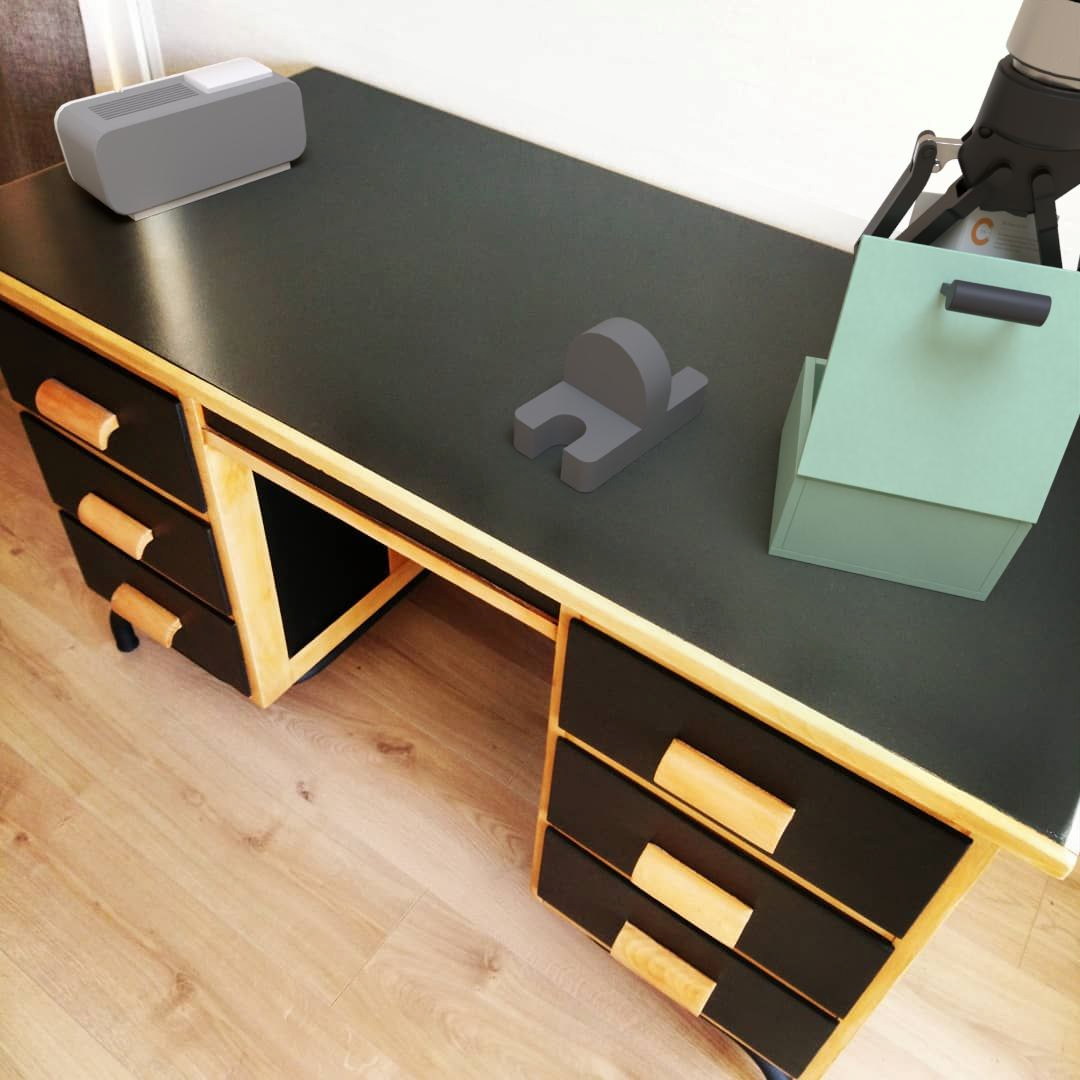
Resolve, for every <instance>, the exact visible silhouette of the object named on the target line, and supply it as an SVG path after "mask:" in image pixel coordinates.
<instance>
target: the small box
mask: <svg viewBox="0 0 1080 1080" xmlns="http://www.w3.org/2000/svg"><path fill="white" fill-rule="evenodd" d="M944 194H945V193H940V192H930V191H922V192H921V194H920V195H919V196H918V198H917V199H916V201H915V202H914V204H913V205H914V206H913V208H912V212H911V215H910V219H909V222H908V225H907V227H909V226H910V225H911V224H912V223H913V222H914V221H915V220H916V219H917V218H918V217H920V216H921V215H922V214H923V213H924V212H925V211H926V210H927V209H928V208H930V207H931V206H932V205H933V204H934V203H935V202H936V201H937V200H938V199H940V198H941V197H942V196H943V195H944ZM1057 220H1058V221H1059V220H1060V215H1058V214H1057ZM929 246H933V247H939V248H945V249H951V250H956V251H962V252H968V253H974V254H980V255H985V256H991V257H997V258H1003V259H1009V260H1014V261H1020V262H1026V263H1032V264H1038V265H1041V263H1040V256H1039V248H1038V241H1037V234H1036V226H1035V219H1034V214H1029V215H1027V217H1026V218H1024V217H1018V216H1014V215H1012V214H1010V213H1007V212H1005V211H997V212H989V211H983V210H980V208H979V206H978V207H977V208H976V209H975V210H974V211H973V212H972V213H970V214H969V215H968V216H967V217H966V218H964V219H960V220H958V221H957V222H956V223H954V224H953V225H952V226H951V227H950V228H949V229H948V230H946V231H945V232H944V233H943V234H942V235H941V236H940V237H938V238H937V239H936V240H935V241H934V242H933V243H931V244H930V245H929Z"/></svg>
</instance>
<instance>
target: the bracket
mask: <svg viewBox="0 0 1080 1080" xmlns="http://www.w3.org/2000/svg"><path fill="white" fill-rule="evenodd" d="M563 369H564V370H563V379H562V381H560V382H558V383H557V384H556V385H554V386H552V387H550V388H549V389H547V390H545V391H543V392H542V393H541V394H538V395H537V396H536V397H534V398H532V399H530V400H529V401H528V402H525V403H524V404H522V405H520V406H519V407H517V408H516V410H515V411H514V421H513V422H514V423H513V424H514V425H513V443H512V446H513V447H514V448H515V450H516V451H518V452H519V453H521V454H522V455H524V456H525V457H526V458H528V459H530V460H534V459H535V458H536V457H537V456H540V455H541V454H543V453H544V452H546V451H547V450H548V449H550V448H552V447H554V446H562V445H563V446H566V447H564V448H563V449H562V459H561V469H560V478H559V480H560V481H561V482H563V483H565V484H566V485H567V486H569V487H571V488H572V489H574V490H575V491H577V492H578V493H579V492H580V493H591V492H593V491H595V490H596V489H598V488H599V487H600V486H602V485H603V484H604V483H606V482H607V481H609V480H610V479H612V478H613V477H614V476H616V475H617V474H619V473H620V472H622V471H623V470H624V469H625V468H627V467H628V466H630V465H631V464H633V463H634V462H635V461H637V460H638V459H640V458H641V457H642V456H643V455H645V454H646V453H648V452H649V451H651V450H652V449H653V448H654V447H656V446H657V445H659V444H661V443H662V442H663V441H664V440H666V439H667V438H669V437H670V436H671V435H673V434H674V433H676V432H677V431H678V430H679V429H681V428H683V427H684V426H685V425H687V424H689V422H691V421H692V420H694V419H695V418H697V417H698V416H699V415H700V414H701V413H702V410H703V406H704V401H705V397H706V392H707V389H708V384H709V378H708V376H706V375H705V374H704V373H703V372H700V371H698V370H697V369H695V368H693V367H691V366H690V365H687V366H685V367H684V368H683V369H681V370H680V371H678V372H676V373H675V374H674V375H672V372H671V367H670V363H669V361H668V358H667V356H666V353H665V351H664V349H663V348H662V346H661V345H660V343H659V341H658V340H657V338H656V337H655V336H654V335H653V334H652V333H651V332H650V331H649V330H648V329H647V328H645V327H644V326H643V325H641V324H640V323H639V322H637V321H635V320H632V319H630V318H626V317H617V316H614V317H612V318H607V319H605V320H603V321H601V322H599V323H598V324H596V325H594V326H593V327H591V328H589V329H588V330H586V331H584V332H582V333H580V334H579V335H578V336H577V337H575V338H573V339H572V340H571V342H570V344H569V346H567V350H566V354H565V358H564V368H563Z"/></svg>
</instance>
